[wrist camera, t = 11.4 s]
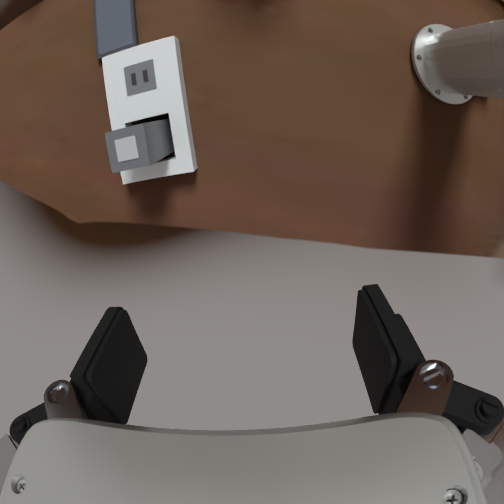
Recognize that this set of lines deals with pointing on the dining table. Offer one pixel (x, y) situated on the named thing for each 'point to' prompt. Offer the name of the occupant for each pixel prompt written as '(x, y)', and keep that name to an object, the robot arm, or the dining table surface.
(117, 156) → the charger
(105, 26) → the phone
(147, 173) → the outlet plate
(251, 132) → the dining table surface
